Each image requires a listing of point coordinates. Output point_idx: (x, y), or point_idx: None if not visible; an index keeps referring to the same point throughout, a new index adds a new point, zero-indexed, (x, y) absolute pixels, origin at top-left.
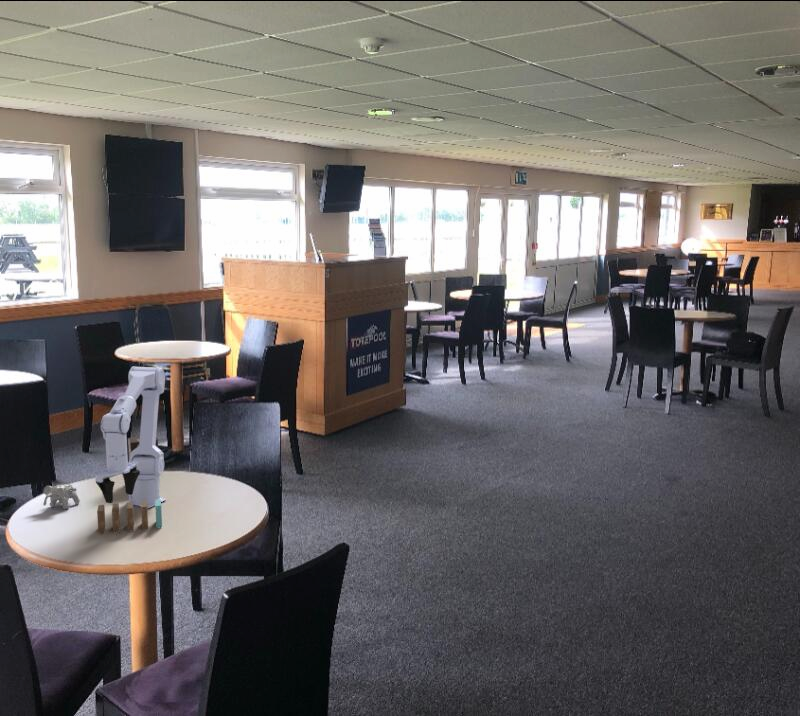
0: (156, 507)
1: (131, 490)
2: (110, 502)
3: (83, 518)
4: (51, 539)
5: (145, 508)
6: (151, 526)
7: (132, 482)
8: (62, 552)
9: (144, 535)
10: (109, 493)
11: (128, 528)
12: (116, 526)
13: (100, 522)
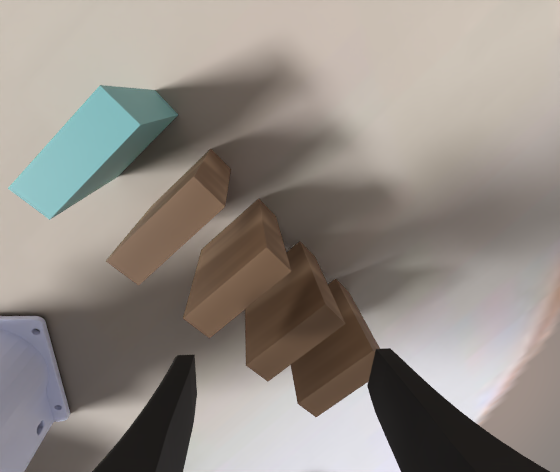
0: (137, 116)
1: (187, 381)
2: (395, 353)
3: (263, 420)
4: (435, 375)
5: (202, 180)
6: (176, 155)
7: (162, 452)
8: (518, 278)
9: (278, 105)
10: (461, 414)
11: (274, 218)
12: (311, 259)
13: (360, 316)
